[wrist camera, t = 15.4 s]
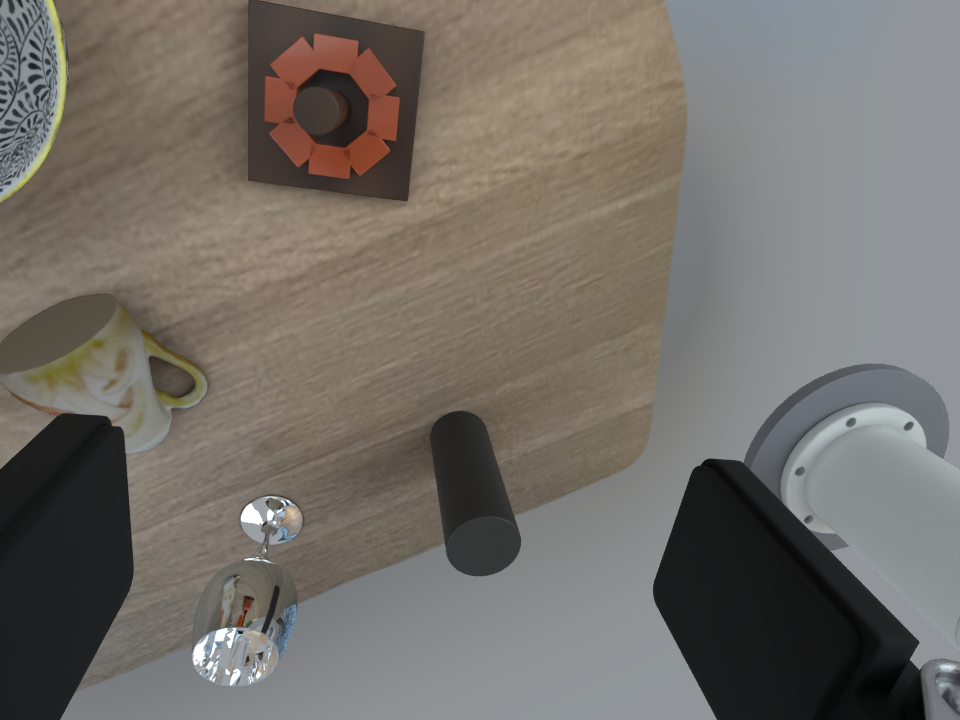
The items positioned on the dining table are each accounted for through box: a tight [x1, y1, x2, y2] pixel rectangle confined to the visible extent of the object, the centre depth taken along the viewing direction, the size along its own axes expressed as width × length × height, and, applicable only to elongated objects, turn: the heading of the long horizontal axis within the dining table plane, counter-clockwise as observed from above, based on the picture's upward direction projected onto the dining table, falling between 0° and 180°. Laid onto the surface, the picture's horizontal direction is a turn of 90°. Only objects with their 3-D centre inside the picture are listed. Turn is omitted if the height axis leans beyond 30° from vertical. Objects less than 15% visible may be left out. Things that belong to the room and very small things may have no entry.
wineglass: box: [192, 496, 303, 686], centre depth 39 cm, size 6×6×12 cm
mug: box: [0, 294, 207, 454], centre depth 35 cm, size 8×10×10 cm
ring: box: [264, 33, 400, 179], centre depth 32 cm, size 7×7×2 cm
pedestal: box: [430, 412, 521, 576], centre depth 38 cm, size 4×4×12 cm
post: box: [248, 0, 425, 201], centre depth 29 cm, size 9×9×11 cm
